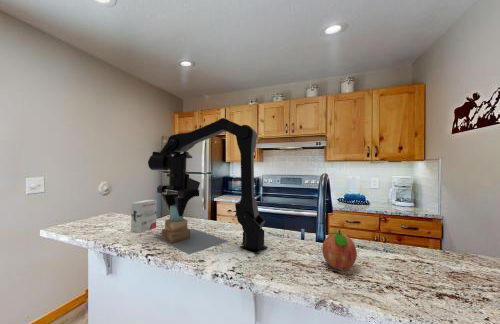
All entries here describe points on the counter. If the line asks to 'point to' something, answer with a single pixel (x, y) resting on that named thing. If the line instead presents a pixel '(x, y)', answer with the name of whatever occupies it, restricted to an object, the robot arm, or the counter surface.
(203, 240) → the slate mat
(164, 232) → the walnut base block
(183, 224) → the oak block
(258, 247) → the robot arm
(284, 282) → the counter surface
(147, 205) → the ink box
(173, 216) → the teal cylinder
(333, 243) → the fruit
